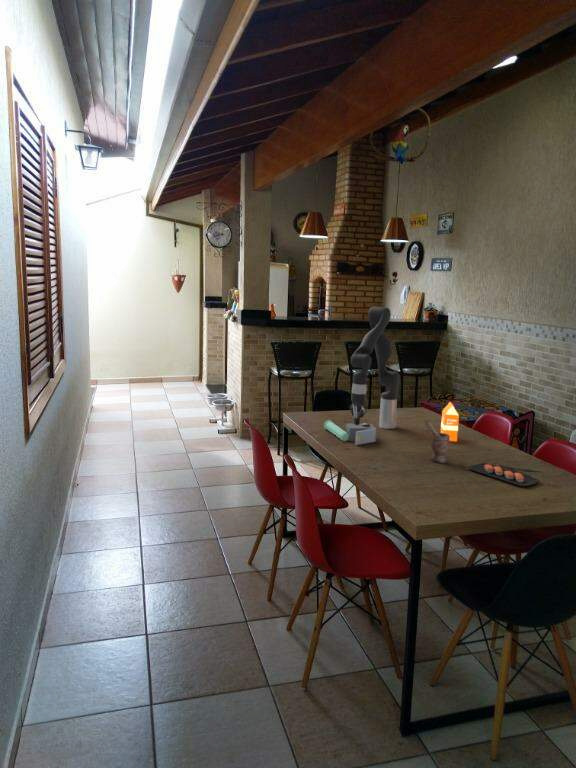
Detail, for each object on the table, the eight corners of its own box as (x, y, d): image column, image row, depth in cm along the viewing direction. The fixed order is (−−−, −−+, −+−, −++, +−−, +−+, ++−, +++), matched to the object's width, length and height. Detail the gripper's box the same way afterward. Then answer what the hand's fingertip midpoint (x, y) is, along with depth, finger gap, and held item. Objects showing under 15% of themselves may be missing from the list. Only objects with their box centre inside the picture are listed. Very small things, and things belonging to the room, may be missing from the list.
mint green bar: (349, 430, 302) (331, 418, 325) (339, 435, 301) (322, 422, 324) (352, 440, 304) (334, 427, 327) (342, 444, 303) (325, 431, 326)
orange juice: (453, 437, 320) (457, 402, 316) (456, 441, 311) (460, 405, 308) (439, 436, 321) (442, 401, 317) (442, 440, 312) (445, 404, 308)
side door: (374, 440, 305) (375, 427, 304) (377, 441, 304) (378, 428, 302) (354, 444, 297) (355, 431, 295) (357, 445, 295) (358, 432, 294)
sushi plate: (465, 471, 264) (466, 463, 263) (502, 460, 282) (503, 453, 281) (524, 490, 241) (525, 482, 240) (560, 478, 259) (561, 470, 258)
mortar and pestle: (426, 463, 271) (429, 422, 267) (420, 457, 279) (423, 418, 276) (449, 463, 272) (453, 422, 268) (443, 458, 280) (447, 418, 277)
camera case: (370, 436, 315) (371, 422, 314) (374, 441, 305) (375, 426, 304) (345, 435, 314) (346, 421, 312) (349, 441, 304) (350, 426, 302)
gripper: (372, 394, 292) (369, 427, 295) (357, 389, 304) (355, 421, 307) (360, 395, 289) (357, 428, 292) (345, 390, 300) (343, 422, 303)
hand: (356, 424), depth 299 cm, fingers closed
